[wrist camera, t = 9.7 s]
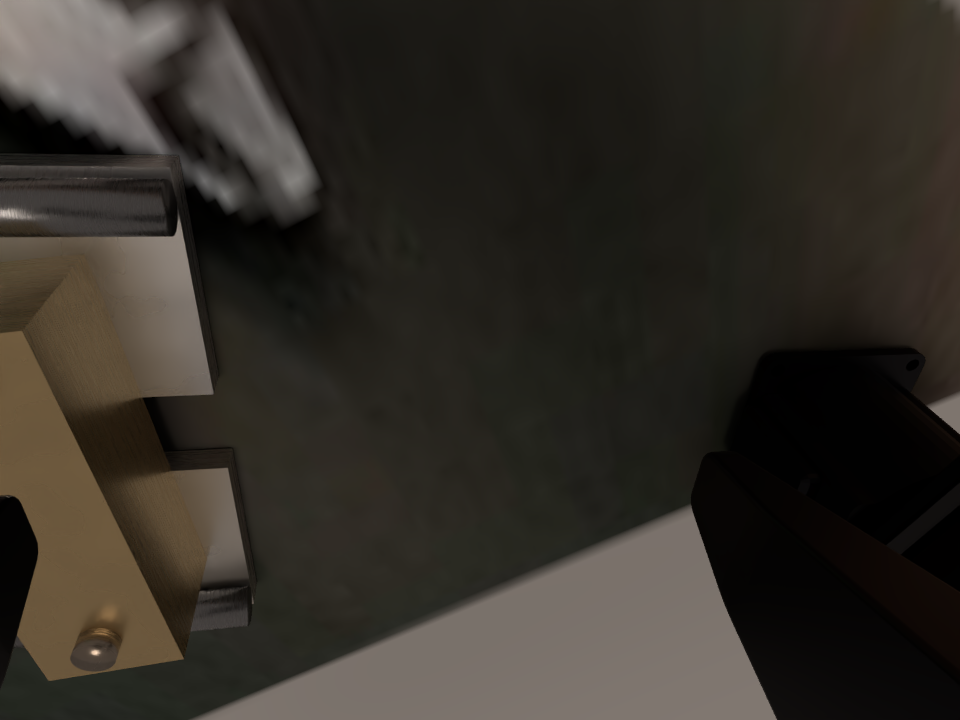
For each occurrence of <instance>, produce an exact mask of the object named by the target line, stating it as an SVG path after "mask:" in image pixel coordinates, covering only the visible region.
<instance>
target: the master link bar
mask: <svg viewBox="0 0 960 720" xmlns="http://www.w3.org/2000/svg"><path fill="white" fill-rule="evenodd" d="M0 495H12V496H15V497H16V498H18V499H19V500H20V502H21V504H22V506H23V508H24V511H25V513H26V515H27V518H28V520H29V522H30V525H31V527H32V529H33V532H34V534H35V536H36V539H37V542H38V559H37V563H36V567H35V571H34V574H33V578H32V582H31V585H30V589H29V593H28V596H27V600H26V604H25V607H24V611H23V615H22V618H21V622H20V626H19V629H18V633H17V636H18V638H19V639H20V641H21V642H22V643H23V645H24V646H25V648H26V649H27V650H28V652H29V653H30V655H31V656H32V658H33V659H34V660H35V662H36V663H37V665H38V666H39V667H40V669H41V670H42V672H43V673H44V675H45V676H46V677H47V679H48V680H49V681H51V680H58V679H64V678H70V677H76V676H82V675H88V674H95V673H101V672H107V671H113V670H119V669H125V668H132V667H138V666H144V665H150V664H156V663H162V662H168V661H175V660H181V659H184V656H185V652H186V648H187V643H188V639H189V635H190V630H191V626H192V622H193V618H194V613H195V609H196V605H197V600H198V596H199V592H200V587H201V583H202V579H203V574H204V570H205V566H206V561H207V557H206V554H205V552H204V549H203V547H202V544H201V542H200V539H199V537H198V534H197V532H196V529H195V527H194V524H193V522H192V519H191V517H190V514H189V512H188V509H187V507H186V504H185V502H184V499H183V497H182V494H181V492H180V489H179V487H178V484H177V482H176V480H175V477H174V475H173V472H172V470H171V467H170V465H169V462H168V460H167V457H166V455H165V452H164V450H163V447H162V445H161V442H160V440H159V437H158V435H157V432H156V430H155V427H154V425H153V422H152V420H151V417H150V415H149V412H148V410H147V408H146V405H145V403H144V400H143V398H142V395H141V393H140V390H139V388H138V385H137V383H136V380H135V378H134V375H133V373H132V370H131V368H130V365H129V363H128V360H127V358H126V355H125V353H124V350H123V348H122V345H121V343H120V340H119V338H118V336H117V333H116V331H115V328H114V326H113V323H112V321H111V318H110V316H109V313H108V311H107V308H106V306H105V303H104V301H103V298H102V296H101V293H100V291H99V288H98V286H97V283H96V281H95V278H94V276H93V273H92V271H91V268H90V266H89V264H88V261H87V259H86V256H85V254H77V255H67V256H57V257H47V258H37V259H27V260H16V261H6V262H0Z"/></svg>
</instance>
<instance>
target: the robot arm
mask: <svg viewBox="0 0 960 720" xmlns="http://www.w3.org/2000/svg"><path fill="white" fill-rule="evenodd" d="M925 361H926V360H925V357H924V356H923V355H922V354H921V353H919V352H918V351H917V350H915V349H912V348H903V349H875V350H847V351H819V352H791V353H774V354H770V355H769V356H767V357H765V358H764V359H763V360H762V362H761V364H760V366H759V369H758V371H757V374H756V377H755V380H754V383H753V386H752V389H751V392H750V395H749V398H748V401H747V404H746V407H745V410H744V412H743V414H742V417H741V420H740V423H739V426H738V429H737V432H736V435H735V438H734V441H733V443H732V446H731V449H730V451H720V452H710V453H707V454H706V455H705V456H704V457H703V459H702V462H701V465H700V468H699V471H698V474H697V478H696V481H695V484H694V487H693V490H692V494H691V506H692V510H693V514H694V517H695V519H696V522H697V526H698V528H699V531H700V534H701V537H702V540H703V543H704V546H705V549H706V552H707V555H708V558H709V561H710V564H711V567H712V570H713V573H714V576H715V579H716V582H717V585H718V588H719V591H720V593H721V596H722V599H723V602H724V604H725V607H726V609H727V611H728V614H729V616H730V618H731V621H732V623H733V625H734V627H735V629H736V632H737V634H738V636H739V638H740V640H741V642H742V644H743V646H744V649H745V651H746V653H747V655H748V658H749V660H750V662H751V664H752V666H753V669H754V671H755V673H756V675H757V677H758V679H759V682H760V684H761V686H762V688H763V690H764V692H765V695H766V697H767V699H768V701H769V703H770V705H771V707H772V710H773V712H774V714H775V716H776V718H777V720H960V434H959V433H957V432H956V431H955V430H954V429H953V428H952V427H950V426H949V425H948V424H947V423H946V422H944V421H943V420H942V419H941V418H939V416H937V415H936V414H935V413H934V412H933V411H932V410H930V409H929V408H928V407H927V406H926V405H925V404H923V403H922V402H921V401H920V400H919V399H917V398H916V397H915V396H914V395H913V394H912V393H910V392H911V390H912V388H913V386H914V384H915V382H916V380H917V378H918V376H919V374H920V372H921V370H922V368H923V366H924V364H925ZM777 365H778V366H777ZM775 366H777V368H775V369H774V370H772V369H773V368H774V367H775ZM37 559H38V542H37V539H36V536H35V534H34V532H33V529H32V527H31V525H30V522H29V520H28V518H27V515H26V513H25V511H24V508H23V506H22V504H21V502H20V500H19V499H18V498H16V497H15V496H12V495H0V689H1V686H2V684H3V681H4V678H5V675H6V671H7V668H8V665H9V662H10V658H11V655H12V651H13V647H14V644H15V640H16V637H17V633H18V629H19V626H20V622H21V618H22V615H23V611H24V607H25V604H26V600H27V596H28V593H29V589H30V585H31V582H32V578H33V574H34V571H35V567H36V563H37Z"/></svg>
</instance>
